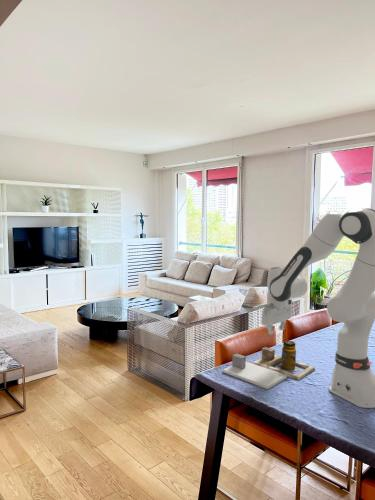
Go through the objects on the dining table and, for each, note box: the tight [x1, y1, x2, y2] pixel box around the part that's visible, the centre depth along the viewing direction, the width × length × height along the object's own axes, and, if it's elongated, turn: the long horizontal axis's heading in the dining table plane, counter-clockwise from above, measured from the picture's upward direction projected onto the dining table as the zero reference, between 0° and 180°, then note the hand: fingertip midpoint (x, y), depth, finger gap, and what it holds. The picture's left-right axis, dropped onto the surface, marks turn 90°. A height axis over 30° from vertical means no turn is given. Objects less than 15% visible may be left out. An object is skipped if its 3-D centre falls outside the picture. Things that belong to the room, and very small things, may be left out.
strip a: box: [252, 346, 316, 380], centre depth 173 cm, size 22×15×6 cm, turn 46°
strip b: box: [222, 353, 288, 390], centre depth 163 cm, size 22×15×6 cm, turn 46°
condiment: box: [274, 340, 299, 372], centre depth 172 cm, size 7×8×12 cm
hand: (276, 331), depth 175 cm, fingers open, 8 cm apart
